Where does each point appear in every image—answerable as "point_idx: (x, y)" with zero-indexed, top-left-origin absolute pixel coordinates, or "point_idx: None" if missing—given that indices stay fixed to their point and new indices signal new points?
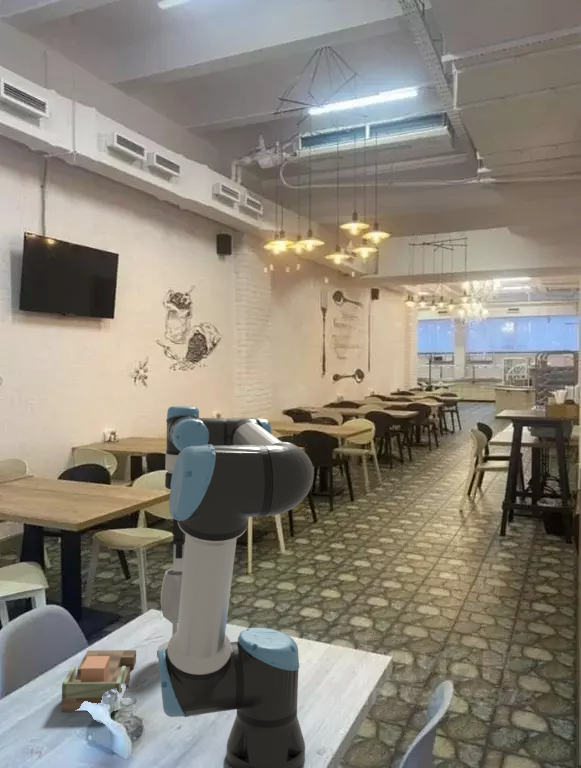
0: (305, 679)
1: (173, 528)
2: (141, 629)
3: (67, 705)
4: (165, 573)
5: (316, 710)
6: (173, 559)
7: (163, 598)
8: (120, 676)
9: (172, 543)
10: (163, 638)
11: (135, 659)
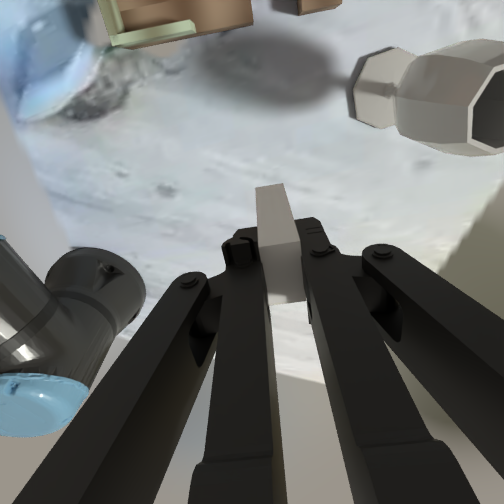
0: (285, 313)
1: (107, 372)
2: None
3: None
4: None
5: None
6: (257, 208)
7: (427, 65)
8: (140, 36)
9: (226, 253)
10: (460, 40)
11: (328, 8)
